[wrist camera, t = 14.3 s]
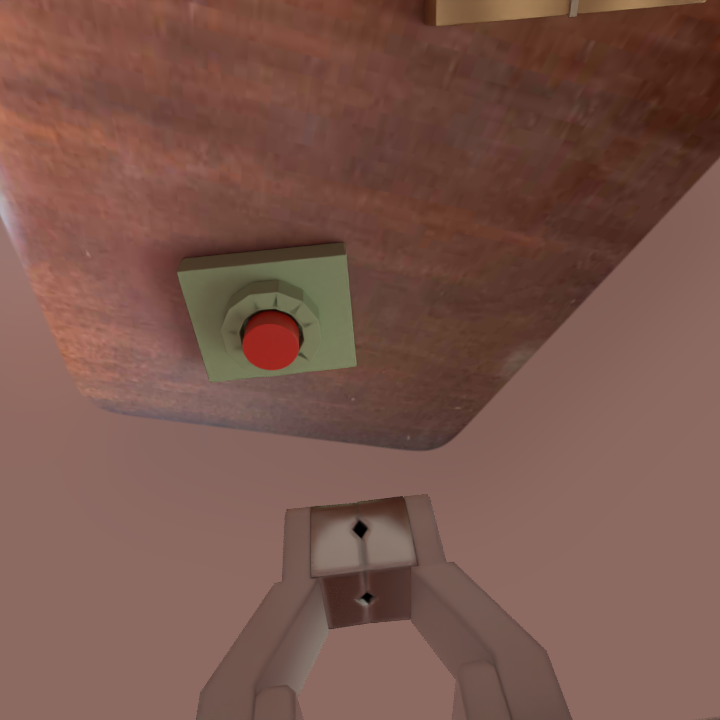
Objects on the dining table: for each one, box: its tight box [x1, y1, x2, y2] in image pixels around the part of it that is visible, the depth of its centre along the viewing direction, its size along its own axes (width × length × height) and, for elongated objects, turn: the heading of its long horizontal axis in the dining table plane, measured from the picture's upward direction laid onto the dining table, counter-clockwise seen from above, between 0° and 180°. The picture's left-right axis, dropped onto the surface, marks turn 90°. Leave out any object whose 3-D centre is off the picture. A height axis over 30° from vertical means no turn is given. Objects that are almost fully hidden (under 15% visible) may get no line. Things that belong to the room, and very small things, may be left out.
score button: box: [242, 311, 299, 370], centre depth 33 cm, size 4×4×2 cm
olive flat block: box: [177, 242, 357, 382], centre depth 35 cm, size 11×9×4 cm
